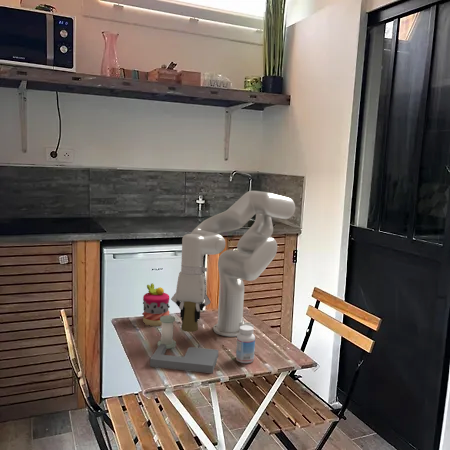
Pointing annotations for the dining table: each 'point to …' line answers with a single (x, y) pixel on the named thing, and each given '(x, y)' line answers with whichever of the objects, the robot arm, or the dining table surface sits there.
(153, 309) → the cake
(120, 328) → the dining table surface
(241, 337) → the pill bottle
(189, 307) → the cork
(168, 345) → the bobbin post
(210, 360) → the gray block
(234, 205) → the robot arm
